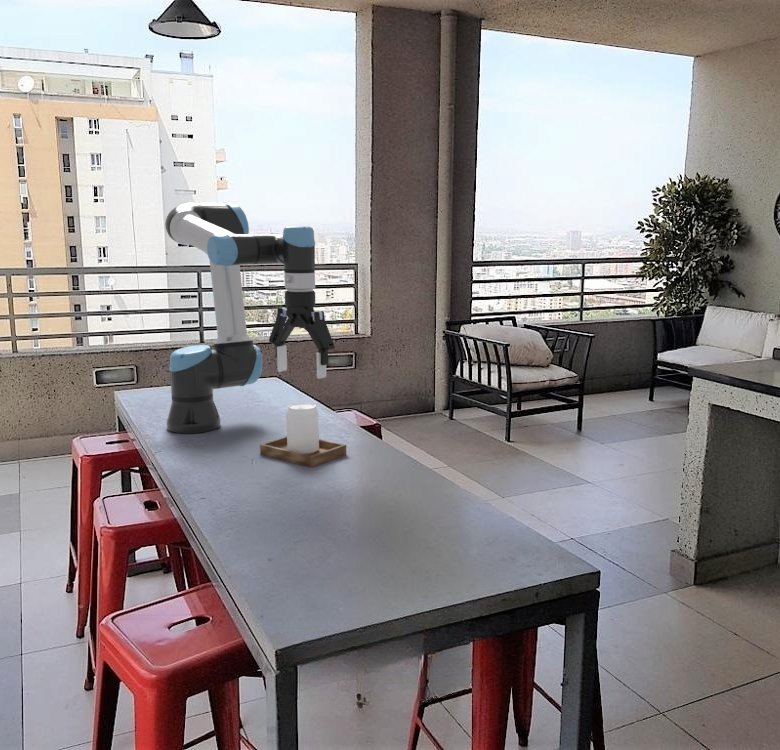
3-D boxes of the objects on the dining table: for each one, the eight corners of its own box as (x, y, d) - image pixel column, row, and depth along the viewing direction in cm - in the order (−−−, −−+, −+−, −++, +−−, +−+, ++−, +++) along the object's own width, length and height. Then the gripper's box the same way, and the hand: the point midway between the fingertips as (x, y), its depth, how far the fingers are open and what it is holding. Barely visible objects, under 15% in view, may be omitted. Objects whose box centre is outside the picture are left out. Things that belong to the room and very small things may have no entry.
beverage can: (321, 447, 194) (321, 402, 192) (315, 456, 186) (314, 410, 184) (291, 446, 195) (290, 401, 192) (284, 455, 187) (282, 409, 184)
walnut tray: (260, 454, 191) (259, 444, 190) (295, 442, 201) (295, 433, 200) (312, 467, 180) (311, 457, 180) (346, 454, 190) (346, 444, 190)
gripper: (253, 288, 187) (256, 370, 191) (327, 294, 172) (328, 383, 177) (275, 286, 193) (277, 366, 197) (348, 291, 178) (349, 378, 182)
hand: (301, 374), depth 187 cm, fingers open, 13 cm apart
